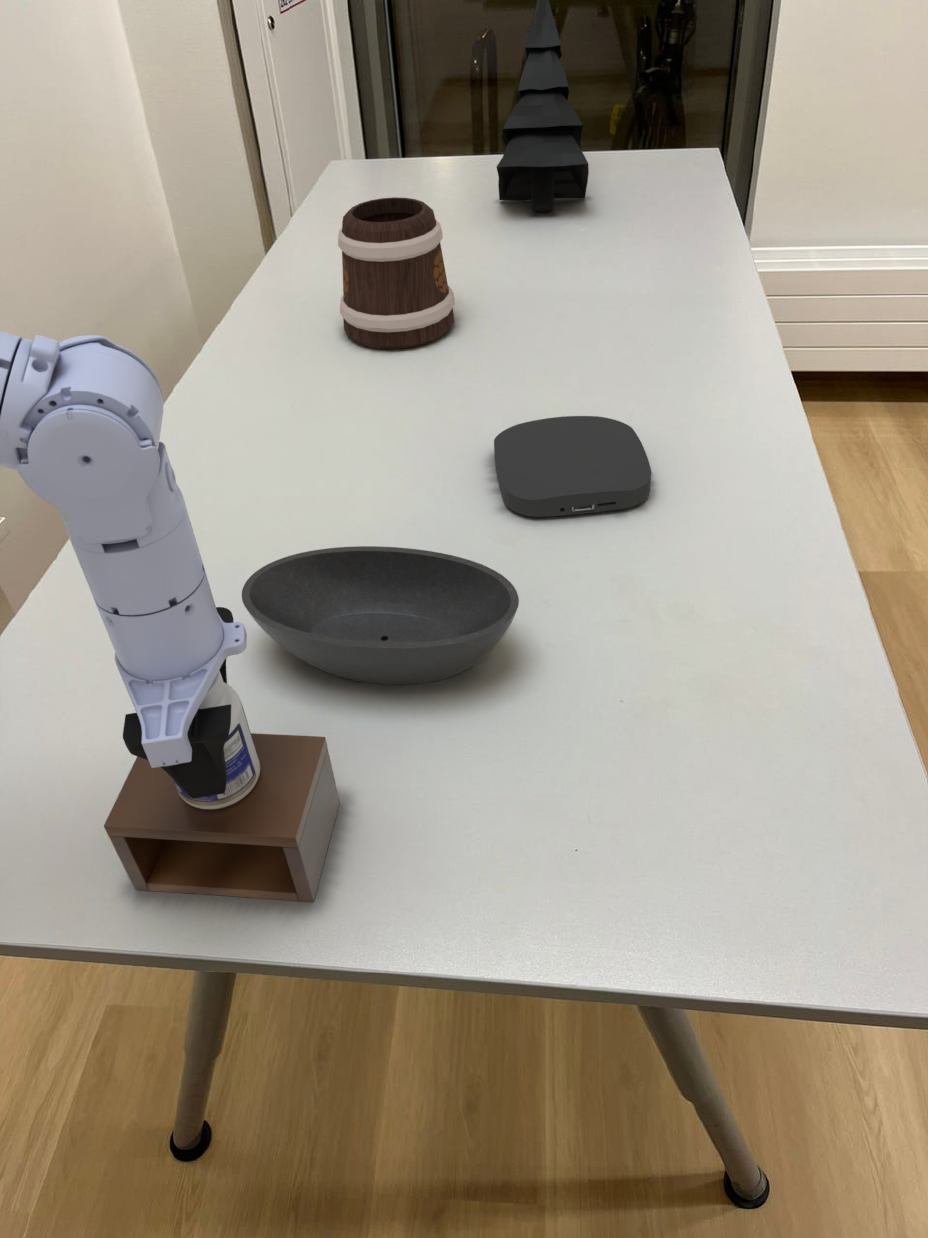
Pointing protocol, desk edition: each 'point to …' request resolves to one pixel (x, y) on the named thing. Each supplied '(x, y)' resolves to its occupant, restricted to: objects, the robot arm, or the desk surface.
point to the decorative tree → (542, 127)
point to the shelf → (232, 827)
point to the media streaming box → (571, 466)
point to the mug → (394, 274)
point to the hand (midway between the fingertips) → (210, 754)
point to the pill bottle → (230, 751)
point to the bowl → (382, 611)
